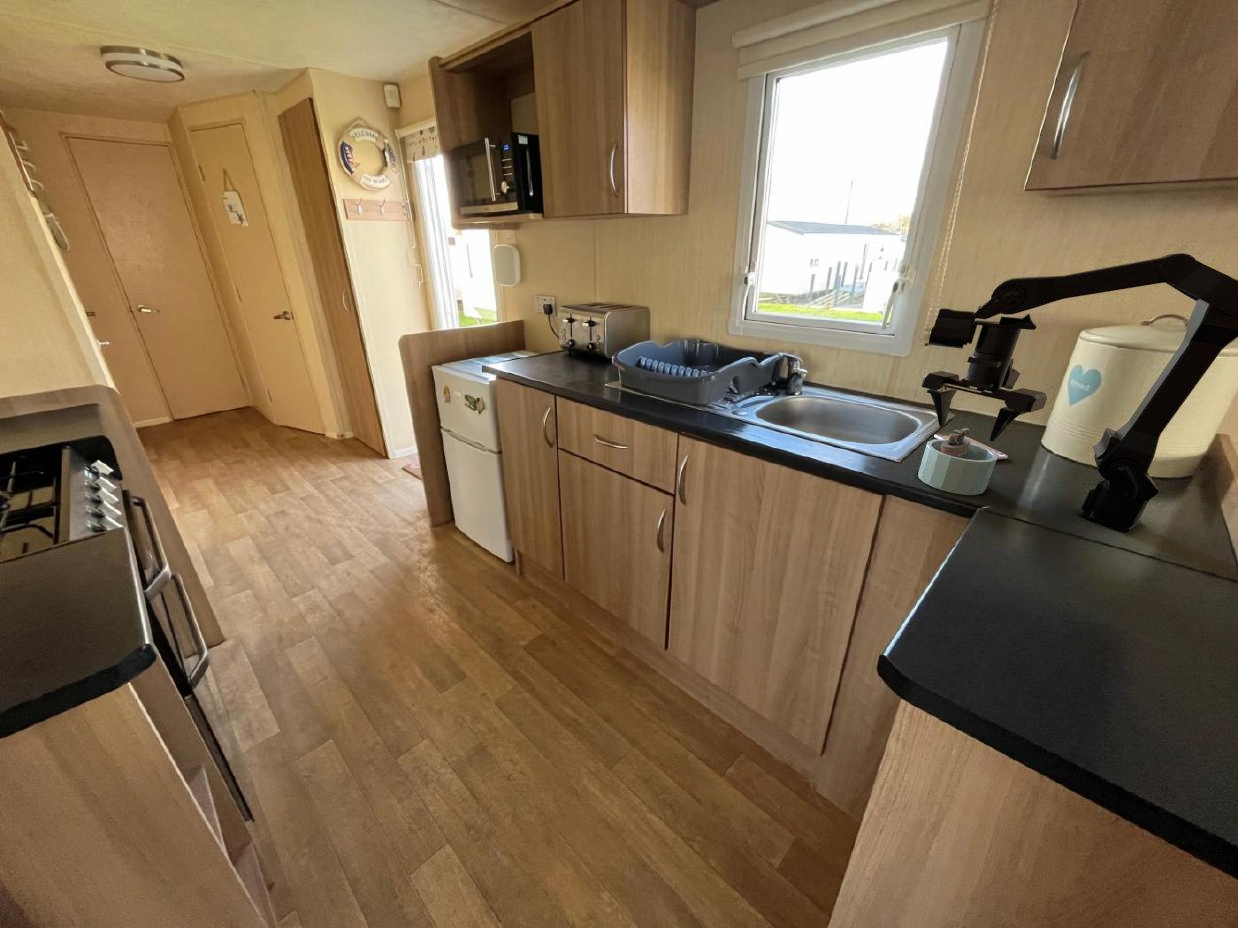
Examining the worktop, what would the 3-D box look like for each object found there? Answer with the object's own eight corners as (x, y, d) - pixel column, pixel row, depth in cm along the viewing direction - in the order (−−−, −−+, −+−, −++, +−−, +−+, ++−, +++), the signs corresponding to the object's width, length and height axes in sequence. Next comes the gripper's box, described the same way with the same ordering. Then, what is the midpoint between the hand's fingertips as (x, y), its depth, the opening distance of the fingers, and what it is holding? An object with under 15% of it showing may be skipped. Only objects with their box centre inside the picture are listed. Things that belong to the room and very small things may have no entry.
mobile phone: (959, 432, 122) (1011, 455, 108) (958, 435, 122) (1009, 459, 109) (932, 433, 121) (980, 456, 107) (931, 436, 121) (979, 460, 108)
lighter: (944, 484, 96) (960, 437, 91) (926, 478, 98) (941, 431, 94) (963, 475, 100) (979, 429, 96) (945, 469, 102) (960, 424, 98)
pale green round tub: (996, 486, 96) (1009, 454, 93) (966, 500, 91) (978, 466, 88) (937, 465, 105) (946, 435, 102) (906, 476, 100) (915, 445, 97)
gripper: (1076, 358, 84) (1041, 442, 90) (962, 340, 99) (939, 413, 105) (1047, 364, 79) (1013, 452, 85) (931, 344, 93) (909, 421, 100)
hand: (965, 433), depth 94 cm, fingers open, 9 cm apart
